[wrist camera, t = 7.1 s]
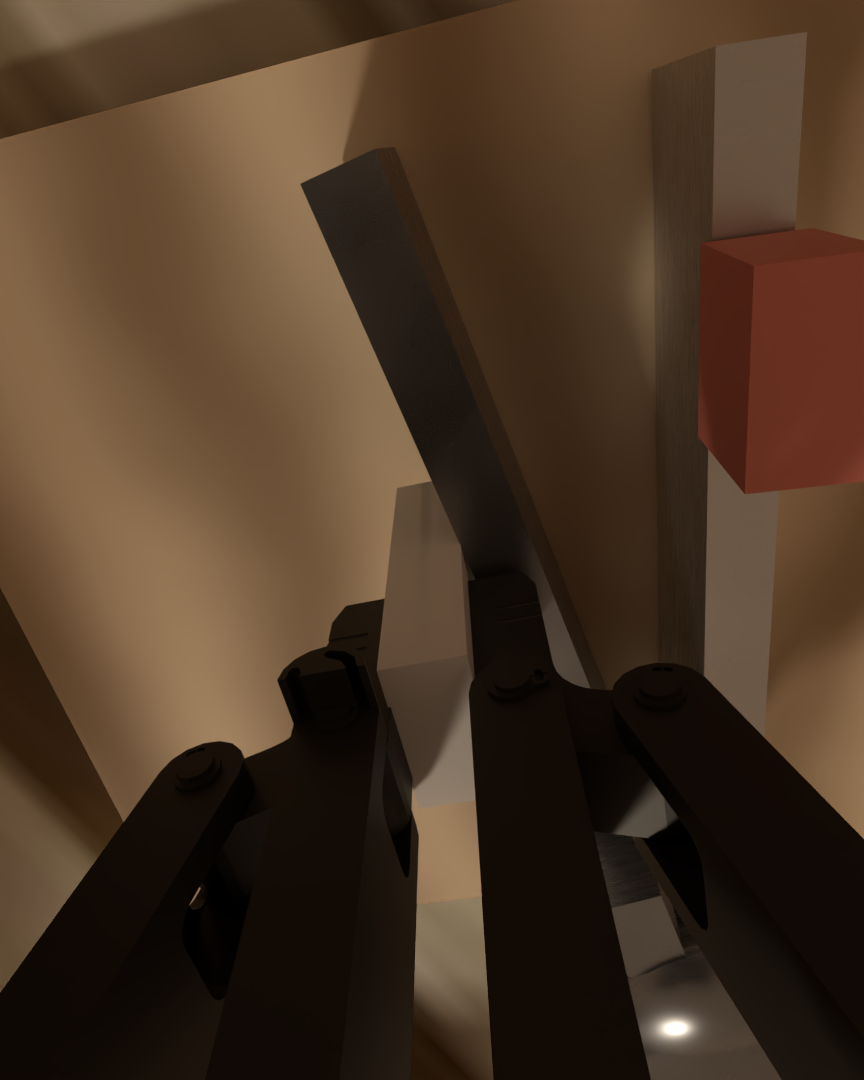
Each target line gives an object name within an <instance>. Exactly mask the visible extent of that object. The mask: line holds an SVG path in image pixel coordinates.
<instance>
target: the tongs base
mask: <svg viewBox="0 0 864 1080" xmlns="http://www.w3.org/2000/svg"><path fill="white" fill-rule="evenodd" d="M806 43H807V32H803V33H796V34H790V35H783V36H777V37H770V38H764V39H757V40H751V41H745V42H738V43H732V44H725V45H719V46H714V47H712V48H709V49H706V50H703V51H701V52H698V53H695V54H693V55H690V56H687V57H684V58H682V59H679V60H676V61H673V62H671V63H668V64H665V65H663V66H660V67H657V68H654V69H652V99H653V185H654V272H655V358H656V444H657V531H658V617H659V663H676V664H679V665H682V666H686V667H689V668H692V669H694V670H695V671H697V672H698V673H700V674H701V675H703V676H704V677H706V678H707V679H708V680H709V681H710V683H711V684H712V685H713V686H714V687H715V688H716V689H717V690H718V691H719V692H720V693H721V694H722V695H723V696H724V697H725V698H726V699H727V700H728V701H729V702H730V703H731V704H732V705H733V706H734V707H735V708H736V709H737V710H738V711H739V712H740V713H741V714H742V715H743V716H744V717H745V718H746V719H747V720H748V721H749V722H750V723H751V724H752V725H753V726H754V727H755V728H756V729H757V730H758V731H759V732H760V733H761V735H762V736H763V737H764V733H765V716H766V700H767V683H768V667H769V650H770V634H771V618H772V601H773V585H774V568H775V552H776V535H777V519H778V503H779V491H771V492H762V493H753V494H744V493H743V492H742V490H741V489H740V488H739V487H738V485H737V484H736V483H735V482H734V480H733V479H732V478H731V477H730V475H729V474H728V473H727V472H726V471H725V469H724V468H723V467H722V466H721V464H720V463H719V462H718V461H717V459H716V458H715V457H714V456H713V454H712V453H711V452H710V451H709V449H708V448H707V447H706V446H705V445H704V443H703V442H702V441H701V440H700V438H699V437H698V393H699V311H700V243H705V242H712V241H719V240H727V239H734V238H742V237H749V236H757V235H764V234H771V233H779V232H786V231H794V230H795V223H796V207H797V191H798V174H799V158H800V141H801V125H802V108H803V92H804V76H805V59H806ZM673 909H674V912H675V916H676V919H677V923H678V925H682V924H684V923H683V921H682V920H681V918H680V916H679V915H678V913H677V912H676V910H675V908H674V907H673Z"/></svg>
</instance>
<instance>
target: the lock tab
mask: <svg viewBox="0 0 864 1080" xmlns="http://www.w3.org/2000/svg"><path fill="white" fill-rule="evenodd" d="M698 437H699V438H700V440H701V441H702V442H703V443H704V445H705V446H706V447H707V448H708V449H709V451H710V452H711V453H712V454H713V456H714V457H715V458H716V459H717V461H718V462H719V463H720V464H721V466H722V467H723V468H724V469H725V471H726V472H727V473H728V474H729V475H730V477H731V478H732V479H733V480H734V482H735V483H736V484H737V485H738V487H739V488H740V489H741V490H742V492H743V493H744V494H753V493H762V492H771V491H781V490H790V489H799V488H808V487H818V486H827V485H836V484H845V483H855V482H864V240H860V239H856V238H851V237H847V236H843V235H839V234H835V233H831V232H827V231H823V230H819V229H815V228H808V229H801V230H794V231H786V232H779V233H771V234H764V235H757V236H749V237H742V238H734V239H727V240H719V241H712V242H705V243H700V311H699V393H698Z"/></svg>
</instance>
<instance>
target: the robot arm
mask: <svg viewBox="0 0 864 1080" xmlns="http://www.w3.org/2000/svg"><path fill="white" fill-rule="evenodd" d="M328 641H329V643H328V644H327V646H326V647H322V648H319V649H316V650H312V651H309V652H307V653H306V654H304V655H302V656H300V657H298V658H296V659H295V660H293V661H292V662H291V663H290V664H289V665H288V666H287V667H285V668H284V669H283V671H282V673H281V674H280V676H279V678H278V679H277V681H278V684H279V687H280V689H281V692H282V695H283V697H284V700H285V702H286V705H287V708H288V710H289V713H290V716H291V718H292V721H293V728H292V732H291V736H290V738H288V739H287V740H285V741H284V742H282V743H280V744H277V745H275V746H273V747H271V748H269V749H266V750H264V751H261V752H259V753H256V754H254V755H251V756H249V757H247V758H244V756H243V754H242V751H241V750H240V749H239V748H238V747H237V746H235V745H234V744H233V743H228V742H222V741H216V742H209V743H203V744H201V745H198V746H195V747H193V748H190V749H188V750H186V751H184V752H183V753H181V754H180V755H178V756H177V757H175V758H174V759H172V760H171V761H170V762H169V763H168V764H167V765H166V766H165V767H164V768H163V769H162V770H161V771H160V773H159V774H158V775H157V777H156V778H155V780H154V781H153V782H152V784H151V785H150V786H149V788H148V789H147V791H146V792H145V793H144V795H143V796H142V798H141V799H140V800H139V802H138V803H137V804H136V806H135V807H134V809H133V810H132V811H131V813H130V814H129V816H128V817H127V818H126V820H125V821H124V822H123V824H122V825H121V827H120V828H119V829H118V831H117V832H116V833H115V835H114V836H113V838H112V839H111V840H110V842H109V843H108V845H107V846H106V847H105V849H104V850H103V851H102V853H101V854H100V856H99V857H98V858H97V860H96V861H95V863H94V864H93V865H92V867H91V868H90V869H89V871H88V872H87V874H86V875H85V876H84V878H83V879H82V881H81V882H80V883H79V885H78V886H77V887H76V889H75V890H74V892H73V893H72V894H71V896H70V897H69V898H68V900H67V901H66V903H65V904H64V905H63V907H62V908H61V910H60V911H59V912H58V914H57V915H56V916H55V918H54V919H53V921H52V922H51V923H50V925H49V926H48V928H47V929H46V930H45V932H44V933H43V934H42V936H41V937H40V939H39V940H38V941H37V943H36V944H35V946H34V947H33V948H32V950H31V951H30V952H29V954H28V955H27V957H26V958H25V959H24V961H23V962H22V964H21V965H20V966H19V968H18V969H17V970H16V972H15V973H14V975H13V976H12V977H11V979H10V980H9V981H8V983H7V984H6V986H5V987H4V988H3V990H2V991H1V993H0V1080H411V1061H412V1031H413V1000H414V970H415V939H416V909H417V878H418V847H419V834H418V830H417V825H416V822H415V819H414V815H413V812H412V787H413V791H414V794H415V797H416V800H417V804H418V807H419V809H422V808H428V807H435V806H441V805H447V804H455V803H461V802H468V801H474V800H476V815H477V831H478V846H479V862H480V877H481V892H482V908H483V923H484V938H485V954H486V969H487V985H488V1000H489V1015H490V1031H491V1046H492V1061H493V1077H494V1080H651V1077H650V1073H649V1069H648V1064H647V1060H646V1056H645V1051H644V1047H643V1043H642V1038H641V1034H640V1030H639V1025H638V1021H637V1017H636V1012H635V1008H634V1004H633V999H632V995H631V991H630V986H629V982H628V978H627V973H626V969H625V965H624V960H623V956H622V952H621V947H620V943H619V939H618V934H617V930H616V926H615V921H614V917H613V913H612V908H611V904H610V900H609V895H608V891H607V887H606V882H605V878H604V874H603V869H602V865H601V861H600V856H599V852H598V848H597V843H596V839H595V835H594V832H602V833H610V834H618V835H626V836H632V837H633V840H634V843H635V845H636V848H637V849H638V851H639V852H640V854H641V856H642V857H643V859H644V860H645V862H646V864H647V865H648V867H649V868H650V870H651V872H652V873H653V875H654V876H655V878H656V880H657V881H658V883H659V884H660V886H661V888H662V889H663V891H664V892H665V894H666V896H667V897H668V899H669V900H670V902H671V904H672V905H673V907H674V908H675V910H676V912H677V913H678V915H679V916H680V918H681V920H682V921H683V923H684V924H685V926H686V928H687V929H688V931H689V932H690V934H691V936H692V937H693V939H694V940H695V942H696V944H697V945H698V947H699V948H700V950H701V952H702V953H703V955H704V956H705V958H706V960H707V961H708V963H709V964H710V966H711V968H712V969H713V971H714V972H715V974H716V976H717V977H718V979H719V980H720V982H721V984H722V985H723V987H724V988H725V990H726V992H727V993H728V995H729V996H730V998H731V999H732V1001H733V1003H734V1004H735V1006H736V1007H737V1009H738V1011H739V1012H740V1014H741V1015H742V1017H743V1019H744V1020H745V1022H746V1023H747V1025H748V1027H749V1028H750V1030H751V1031H752V1033H753V1035H754V1036H755V1038H756V1039H757V1041H758V1043H759V1044H760V1046H761V1047H762V1049H763V1051H764V1052H765V1054H766V1055H767V1057H768V1059H769V1060H770V1062H771V1063H772V1065H773V1067H774V1068H775V1070H776V1071H777V1073H778V1075H779V1076H780V1078H781V1079H782V1080H864V839H863V838H862V836H861V835H860V834H859V833H858V832H857V831H856V830H855V829H854V828H853V827H852V826H851V825H850V824H849V823H848V822H847V821H846V820H845V819H844V818H843V817H842V816H841V815H840V814H839V813H838V812H837V811H836V810H835V809H834V808H833V807H832V806H831V805H830V804H829V803H828V802H827V801H826V800H825V799H824V798H823V797H822V796H821V795H820V794H819V793H818V792H817V791H816V790H815V789H814V788H813V787H812V785H811V784H810V783H809V782H808V781H807V780H806V779H805V778H804V777H803V776H802V775H801V774H800V773H799V772H798V771H797V770H796V769H795V768H794V767H793V766H792V765H791V764H790V763H789V762H788V761H787V760H786V759H785V758H784V757H783V756H782V755H781V754H780V753H779V752H778V751H777V750H776V749H775V748H774V747H773V746H772V745H771V744H770V743H769V742H768V741H767V740H766V739H765V738H764V737H763V736H762V735H761V733H760V732H759V731H758V730H757V729H756V728H755V727H754V726H753V725H752V724H751V723H750V722H749V721H748V720H747V719H746V718H745V717H744V716H743V715H742V714H741V713H740V712H739V711H738V710H737V709H736V708H735V707H734V706H733V705H732V704H731V703H730V702H729V701H728V700H727V699H726V698H725V697H724V696H723V695H722V694H721V693H720V692H719V691H718V690H717V689H716V688H715V687H714V686H713V685H712V684H711V683H710V681H709V680H708V679H707V678H706V677H704V676H703V675H701V674H700V673H698V672H697V671H695V670H694V669H692V668H689V667H686V666H682V665H679V664H676V663H652V664H647V665H642V666H638V667H636V668H634V669H632V670H630V671H628V672H626V673H624V674H623V675H622V676H621V677H620V678H619V679H618V680H617V681H616V682H615V683H614V685H613V690H599V689H591V688H584V687H581V686H578V685H575V684H572V683H571V682H569V681H567V680H565V679H564V678H562V676H561V675H560V674H559V673H558V672H557V671H556V669H555V667H554V665H553V661H552V656H551V652H550V647H549V643H548V638H547V634H546V629H545V625H544V620H543V616H542V611H541V607H540V602H539V597H538V593H537V588H536V584H535V582H533V581H532V580H531V579H530V578H529V577H527V576H526V575H525V574H524V573H523V572H521V571H519V572H513V573H508V574H503V575H498V576H492V577H487V578H482V579H476V580H475V578H474V575H473V573H472V571H471V568H470V566H469V564H468V562H467V559H466V557H465V555H464V553H463V550H462V548H461V545H460V544H459V541H458V539H457V537H456V535H455V532H454V530H453V528H452V526H451V523H450V521H449V519H448V517H447V514H446V512H445V510H444V508H443V505H442V503H441V501H440V499H439V496H438V494H437V492H436V490H435V487H434V485H433V483H432V481H429V482H424V483H419V484H414V485H409V486H404V487H399V488H397V493H396V501H395V510H394V519H393V528H392V537H391V546H390V555H389V564H388V573H387V582H386V591H385V599H380V600H374V601H369V602H364V603H358V604H353V605H348V606H345V608H344V609H343V610H342V611H341V612H340V614H339V615H338V616H337V617H336V619H335V620H334V621H333V622H332V625H331V630H330V635H329V639H328ZM199 887H200V891H199V892H198V894H197V896H196V898H195V899H194V900H193V902H192V903H191V901H192V899H193V897H194V896H195V894H196V892H197V890H198V889H199ZM190 903H191V904H190ZM189 904H190V905H189Z"/></svg>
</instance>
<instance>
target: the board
mask: <svg viewBox="0 0 864 1080" xmlns="http://www.w3.org/2000/svg"><path fill="white" fill-rule="evenodd" d="M803 32H807V43H806V59H805V76H804V92H803V108H802V125H801V141H800V158H799V174H798V191H797V207H796V223H795V230H801V229H808V228H815V229H819V230H823V231H827V232H831V233H835V234H839V235H843V236H847V237H851V238H856V239H860V240H864V0H515V1H512V2H508V3H504V4H500V5H497V6H493V7H489V8H486V9H482V10H478V11H474V12H471V13H467V14H463V15H459V16H456V17H452V18H448V19H445V20H441V21H437V22H433V23H430V24H426V25H422V26H419V27H415V28H411V29H407V30H404V31H400V32H396V33H393V34H389V35H385V36H381V37H378V38H374V39H370V40H367V41H363V42H359V43H355V44H352V45H348V46H344V47H341V48H337V49H333V50H329V51H326V52H322V53H318V54H314V55H311V56H307V57H303V58H300V59H296V60H292V61H288V62H285V63H281V64H277V65H274V66H270V67H266V68H262V69H259V70H255V71H251V72H248V73H244V74H240V75H236V76H233V77H229V78H225V79H222V80H218V81H214V82H210V83H207V84H203V85H199V86H196V87H192V88H188V89H184V90H181V91H177V92H173V93H169V94H166V95H162V96H158V97H155V98H151V99H147V100H143V101H140V102H136V103H132V104H129V105H125V106H121V107H117V108H114V109H110V110H106V111H103V112H99V113H95V114H91V115H88V116H84V117H80V118H77V119H73V120H69V121H65V122H62V123H58V124H54V125H51V126H47V127H43V128H39V129H36V130H32V131H28V132H24V133H21V134H17V135H13V136H10V137H6V138H2V139H0V588H1V590H2V592H3V594H4V596H5V598H6V600H7V601H8V603H9V605H10V607H11V609H12V611H13V613H14V615H15V617H16V619H17V620H18V622H19V624H20V626H21V628H22V630H23V632H24V634H25V636H26V638H27V639H28V641H29V643H30V645H31V647H32V649H33V651H34V653H35V655H36V657H37V658H38V660H39V662H40V664H41V666H42V668H43V670H44V672H45V674H46V675H47V677H48V679H49V681H50V683H51V685H52V687H53V689H54V691H55V693H56V694H57V696H58V698H59V700H60V702H61V704H62V706H63V708H64V710H65V712H66V713H67V715H68V717H69V719H70V721H71V723H72V725H73V727H74V729H75V731H76V732H77V734H78V736H79V738H80V740H81V742H82V744H83V746H84V748H85V750H86V751H87V753H88V755H89V757H90V759H91V761H92V763H93V765H94V767H95V769H96V770H97V772H98V774H99V776H100V778H101V780H102V782H103V784H104V786H105V788H106V789H107V791H108V793H109V795H110V797H111V799H112V801H113V803H114V805H115V807H116V808H117V810H118V812H119V814H120V816H121V818H122V820H123V822H124V821H125V820H126V818H127V817H128V816H129V814H130V813H131V811H132V810H133V809H134V807H135V806H136V804H137V803H138V802H139V800H140V799H141V798H142V796H143V795H144V793H145V792H146V791H147V789H148V788H149V786H150V785H151V784H152V782H153V781H154V780H155V778H156V777H157V775H158V774H159V773H160V771H161V770H162V769H163V768H164V767H165V766H166V765H167V764H168V763H169V762H170V761H171V760H172V759H174V758H175V757H177V756H178V755H180V754H181V753H183V752H184V751H186V750H188V749H190V748H193V747H195V746H198V745H201V744H203V743H209V742H216V741H222V742H228V743H233V744H234V745H235V746H237V747H238V748H239V749H240V750H241V751H242V754H243V756H244V758H247V757H249V756H251V755H254V754H256V753H259V752H261V751H264V750H266V749H269V748H271V747H273V746H275V745H277V744H280V743H282V742H284V741H285V740H287V739H288V738H290V736H291V732H292V728H293V721H292V718H291V716H290V713H289V710H288V708H287V705H286V702H285V700H284V697H283V695H282V692H281V689H280V687H279V684H278V681H277V679H278V678H279V676H280V674H281V673H282V671H283V669H284V668H285V667H287V666H288V665H289V664H290V663H291V662H292V661H293V660H295V659H296V658H298V657H300V656H302V655H304V654H306V653H307V652H309V651H312V650H316V649H319V648H322V647H326V646H327V644H328V643H329V641H328V639H329V635H330V630H331V625H332V622H333V621H334V620H335V619H336V617H337V616H338V615H339V614H340V612H341V611H342V610H343V609H344V608H345V606H348V605H353V604H358V603H364V602H369V601H374V600H380V599H385V591H386V582H387V573H388V564H389V555H390V546H391V537H392V528H393V519H394V510H395V501H396V493H397V488H399V487H404V486H409V485H414V484H419V483H424V482H429V481H431V478H430V476H429V474H428V471H427V469H426V467H425V465H424V462H423V460H422V458H421V456H420V453H419V451H418V449H417V447H416V444H415V442H414V440H413V438H412V435H411V433H410V431H409V429H408V426H407V424H406V422H405V420H404V417H403V415H402V413H401V411H400V408H399V406H398V404H397V402H396V399H395V397H394V395H393V393H392V390H391V388H390V386H389V383H388V381H387V379H386V377H385V374H384V372H383V370H382V368H381V365H380V363H379V361H378V359H377V356H376V354H375V352H374V350H373V347H372V345H371V343H370V341H369V338H368V336H367V334H366V332H365V329H364V327H363V325H362V323H361V320H360V318H359V316H358V314H357V311H356V309H355V307H354V305H353V302H352V300H351V298H350V295H349V293H348V291H347V289H346V286H345V284H344V282H343V280H342V277H341V275H340V273H339V271H338V268H337V266H336V264H335V262H334V259H333V257H332V255H331V253H330V250H329V248H328V246H327V244H326V241H325V239H324V237H323V235H322V232H321V230H320V228H319V226H318V223H317V221H316V219H315V217H314V214H313V212H312V210H311V207H310V205H309V203H308V201H307V198H306V196H305V194H304V192H303V189H302V187H301V185H300V184H301V183H303V182H305V181H307V180H309V179H311V178H313V177H316V176H318V175H320V174H322V173H324V172H326V171H328V170H331V169H333V168H335V167H337V166H339V165H341V164H343V163H346V162H348V161H350V160H352V159H354V158H356V157H358V156H361V155H363V154H365V153H367V152H369V151H371V150H373V149H377V148H387V147H395V148H396V151H397V153H398V156H399V158H400V161H401V163H402V166H403V169H404V171H405V174H406V176H407V179H408V181H409V184H410V187H411V189H412V192H413V194H414V197H415V199H416V202H417V205H418V207H419V210H420V212H421V215H422V217H423V220H424V223H425V225H426V228H427V230H428V233H429V235H430V238H431V241H432V243H433V246H434V248H435V251H436V253H437V256H438V258H439V261H440V264H441V266H442V269H443V271H444V274H445V276H446V279H447V282H448V284H449V287H450V289H451V292H452V294H453V297H454V300H455V302H456V305H457V307H458V310H459V312H460V315H461V318H462V320H463V323H464V325H465V328H466V330H467V333H468V336H469V338H470V341H471V343H472V346H473V348H474V351H475V354H476V356H477V359H478V361H479V364H480V366H481V369H482V372H483V374H484V377H485V379H486V382H487V384H488V387H489V389H490V392H491V395H492V397H493V400H494V402H495V405H496V407H497V410H498V413H499V415H500V418H501V420H502V423H503V425H504V428H505V431H506V433H507V436H508V438H509V441H510V443H511V446H512V449H513V451H514V454H515V456H516V459H517V461H518V464H519V467H520V469H521V472H522V474H523V477H524V479H525V482H526V485H527V487H528V490H529V492H530V495H531V497H532V500H533V503H534V505H535V508H536V510H537V513H538V515H539V518H540V521H541V523H542V526H543V528H544V531H545V533H546V536H547V538H548V541H549V544H550V546H551V549H552V551H553V554H554V556H555V559H556V562H557V564H558V567H559V569H560V572H561V574H562V577H563V580H564V582H565V585H566V587H567V590H568V592H569V595H570V598H571V600H572V603H573V605H574V608H575V610H576V613H577V616H578V618H579V621H580V623H581V626H582V628H583V631H584V634H585V636H586V639H587V641H588V644H589V646H590V649H591V652H592V654H593V657H594V659H595V662H596V664H597V667H598V670H599V672H600V675H601V677H602V680H603V682H604V685H605V687H606V690H613V685H614V683H615V682H616V681H617V680H618V679H619V678H620V677H621V676H622V675H623V674H624V673H626V672H628V671H630V670H632V669H634V668H636V667H638V666H642V665H647V664H652V663H659V617H658V531H657V444H656V358H655V272H654V185H653V99H652V69H654V68H657V67H660V66H663V65H665V64H668V63H671V62H673V61H676V60H679V59H682V58H684V57H687V56H690V55H693V54H695V53H698V52H701V51H703V50H706V49H709V48H712V47H714V46H719V45H725V44H732V43H738V42H745V41H751V40H757V39H764V38H770V37H777V36H783V35H790V34H796V33H803ZM764 738H765V739H766V740H767V741H768V742H769V743H770V744H771V745H772V746H773V747H774V748H775V749H776V750H777V751H778V752H779V753H780V754H781V755H782V756H783V757H784V758H785V759H786V760H787V761H788V762H789V763H790V764H791V765H792V766H793V767H794V768H795V769H796V770H797V771H798V772H799V773H800V774H801V775H802V776H803V777H804V778H805V779H806V780H807V781H808V782H809V783H810V784H811V785H812V787H813V788H814V789H815V790H816V791H817V792H818V793H819V794H820V795H821V796H822V797H823V798H824V799H825V800H826V801H827V802H828V803H829V804H830V805H831V806H832V807H833V808H834V809H835V810H836V811H837V812H838V813H839V814H840V815H841V816H842V817H843V818H844V819H845V820H846V821H847V822H848V823H849V824H850V825H851V826H852V827H853V828H854V829H855V830H856V831H857V832H858V833H859V834H860V835H861V836H862V838H863V839H864V482H855V483H845V484H836V485H827V486H818V487H808V488H799V489H790V490H781V491H779V503H778V519H777V535H776V552H775V568H774V585H773V601H772V618H771V634H770V650H769V667H768V683H767V700H766V716H765V733H764ZM412 812H413V815H414V819H415V822H416V825H417V830H418V834H419V847H418V878H417V905H419V904H426V903H434V902H442V901H449V900H457V899H465V898H472V897H480V896H482V892H481V877H480V862H479V846H478V831H477V815H476V800H474V801H468V802H461V803H455V804H447V805H441V806H435V807H428V808H422V809H419V807H418V804H417V800H416V797H415V794H414V791H413V787H412ZM199 891H200V887H199V889H198V890H197V892H196V894H195V896H194V897H193V899H192V901H191V903H192V902H193V900H194V899H195V898H196V896H197V894H198V892H199ZM191 903H190V904H191ZM190 904H189V905H190Z"/></svg>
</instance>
